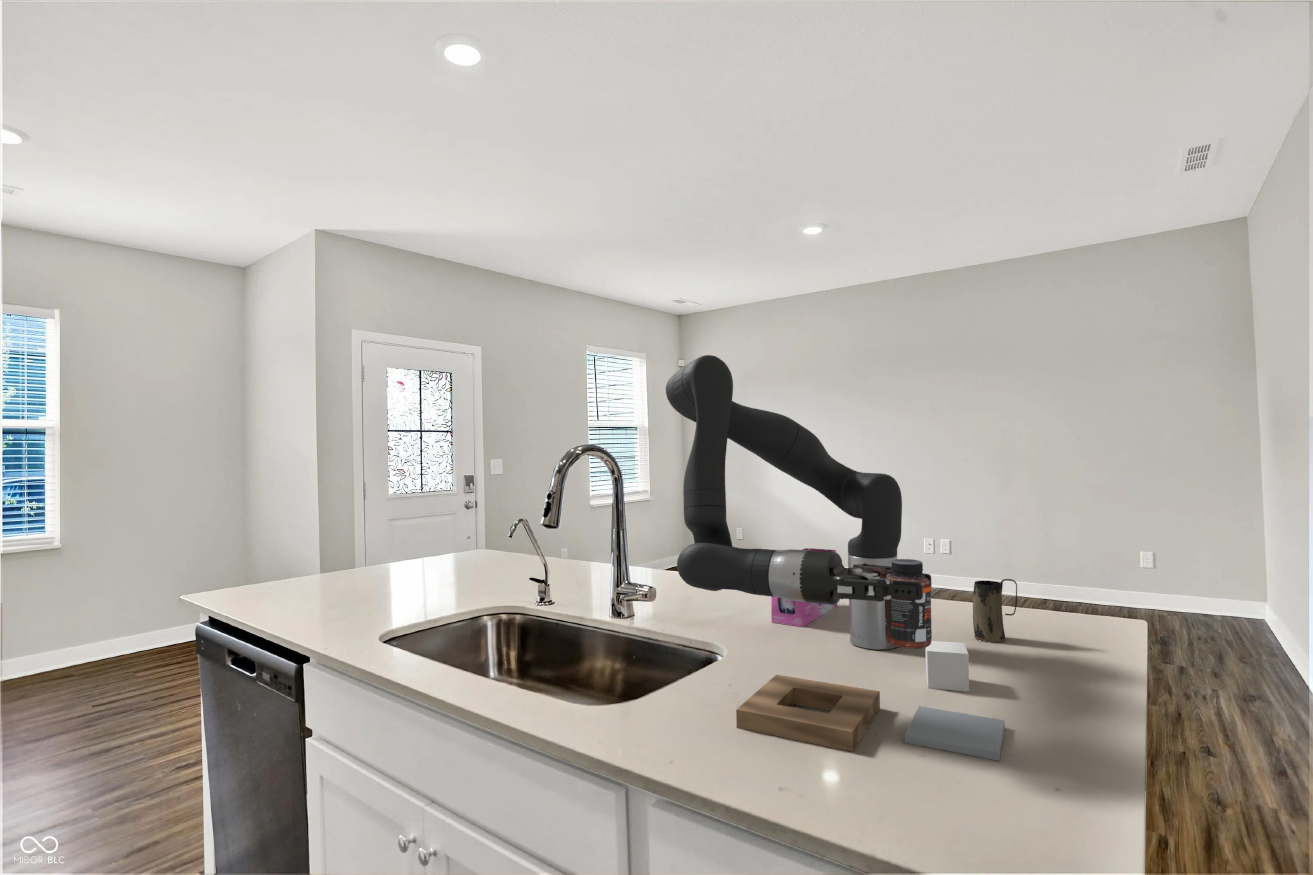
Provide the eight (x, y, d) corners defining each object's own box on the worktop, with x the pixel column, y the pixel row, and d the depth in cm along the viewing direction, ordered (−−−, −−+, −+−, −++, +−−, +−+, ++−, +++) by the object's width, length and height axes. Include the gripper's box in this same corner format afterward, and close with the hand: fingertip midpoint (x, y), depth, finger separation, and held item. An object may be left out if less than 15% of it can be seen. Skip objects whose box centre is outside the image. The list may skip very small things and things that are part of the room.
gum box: (802, 629, 143) (801, 565, 143) (768, 624, 147) (766, 562, 147) (838, 605, 163) (836, 549, 163) (806, 602, 167) (805, 547, 168)
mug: (972, 640, 132) (971, 579, 132) (974, 633, 137) (972, 574, 137) (1018, 645, 128) (1016, 582, 128) (1018, 638, 133) (1017, 577, 133)
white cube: (928, 688, 107) (927, 650, 107) (926, 676, 113) (924, 640, 113) (969, 692, 105) (968, 653, 105) (965, 679, 111) (964, 642, 111)
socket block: (776, 690, 108) (776, 674, 108) (880, 708, 99) (879, 691, 100) (736, 727, 94) (736, 709, 94) (852, 751, 86) (852, 731, 86)
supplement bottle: (935, 651, 88) (934, 565, 89) (888, 649, 90) (886, 564, 90) (927, 638, 94) (926, 557, 94) (883, 636, 96) (881, 556, 96)
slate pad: (919, 712, 97) (919, 705, 97) (1004, 727, 92) (1004, 720, 92) (905, 742, 88) (904, 734, 88) (999, 760, 82) (999, 752, 82)
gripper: (788, 557, 93) (916, 567, 85) (820, 543, 106) (935, 551, 97) (789, 612, 93) (917, 627, 85) (821, 591, 106) (936, 603, 97)
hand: (926, 586), depth 91 cm, fingers closed on supplement bottle, 6 cm apart
